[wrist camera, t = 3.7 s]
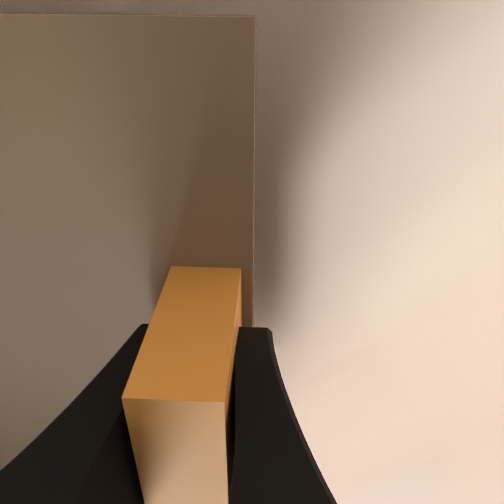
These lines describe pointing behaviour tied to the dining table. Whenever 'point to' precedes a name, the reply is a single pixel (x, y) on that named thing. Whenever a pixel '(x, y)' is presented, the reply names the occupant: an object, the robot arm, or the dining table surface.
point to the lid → (128, 230)
